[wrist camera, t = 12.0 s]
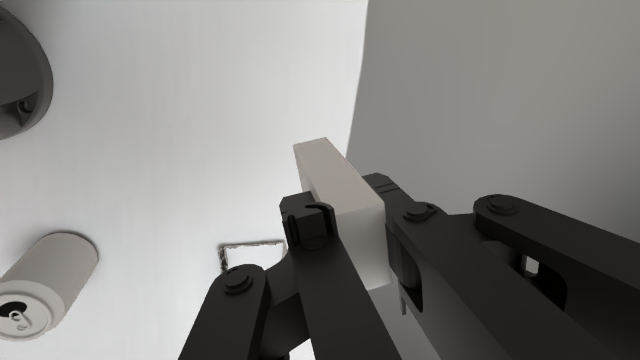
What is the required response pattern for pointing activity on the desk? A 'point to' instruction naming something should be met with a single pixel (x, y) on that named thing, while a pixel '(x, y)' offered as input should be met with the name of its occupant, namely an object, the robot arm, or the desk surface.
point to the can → (44, 285)
